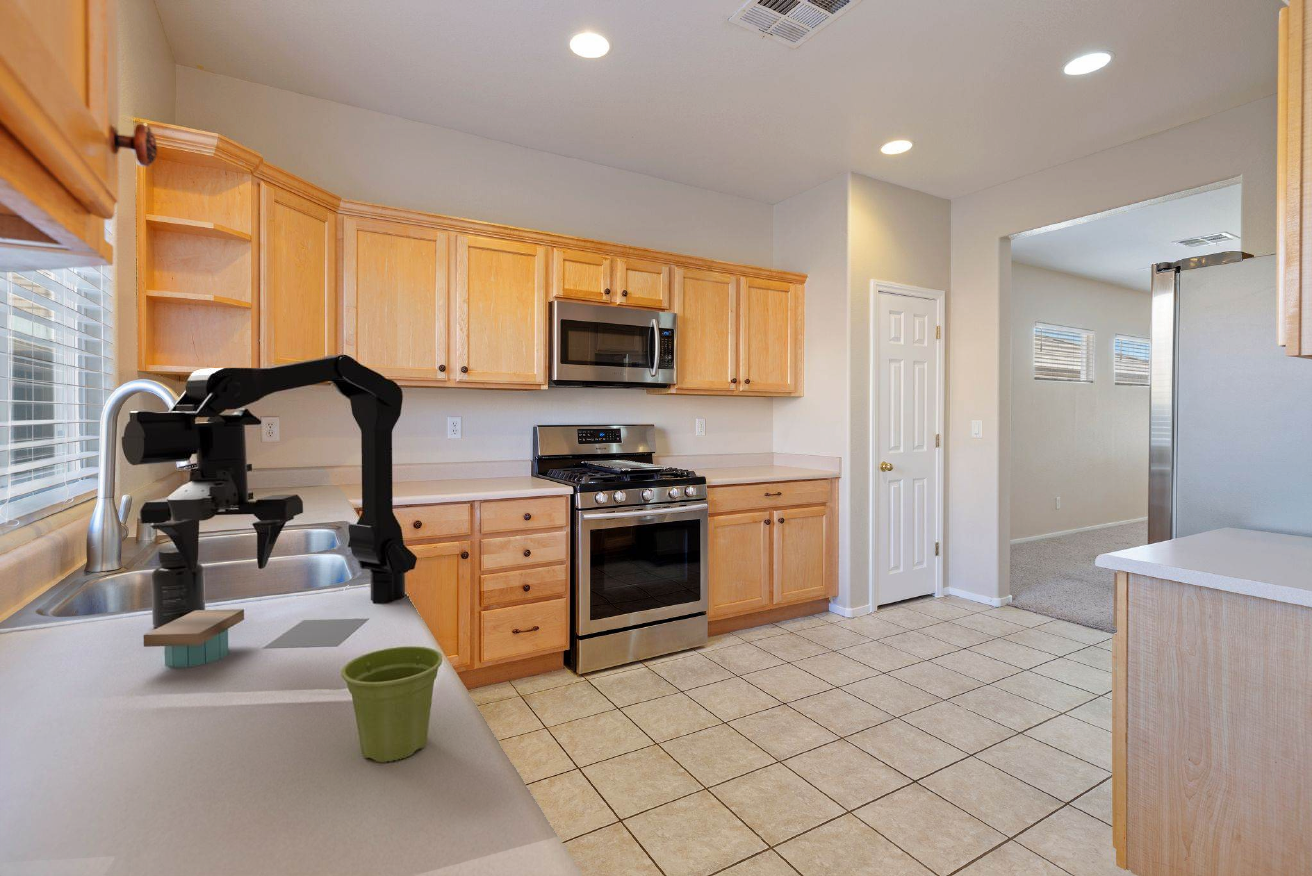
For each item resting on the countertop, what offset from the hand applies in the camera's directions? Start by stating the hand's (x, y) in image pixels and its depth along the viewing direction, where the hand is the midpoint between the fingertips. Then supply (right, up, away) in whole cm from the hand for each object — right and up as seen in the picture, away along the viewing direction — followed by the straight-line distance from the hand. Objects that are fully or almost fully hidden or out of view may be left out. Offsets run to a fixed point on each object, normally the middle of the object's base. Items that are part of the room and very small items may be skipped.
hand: (227, 569), depth 88 cm
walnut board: (-1, -8, -4) cm, 9 cm away
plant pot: (+34, -13, -25) cm, 44 cm away
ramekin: (-1, -12, -4) cm, 13 cm away
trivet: (+10, -12, +5) cm, 16 cm away
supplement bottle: (-17, -12, +13) cm, 24 cm away
